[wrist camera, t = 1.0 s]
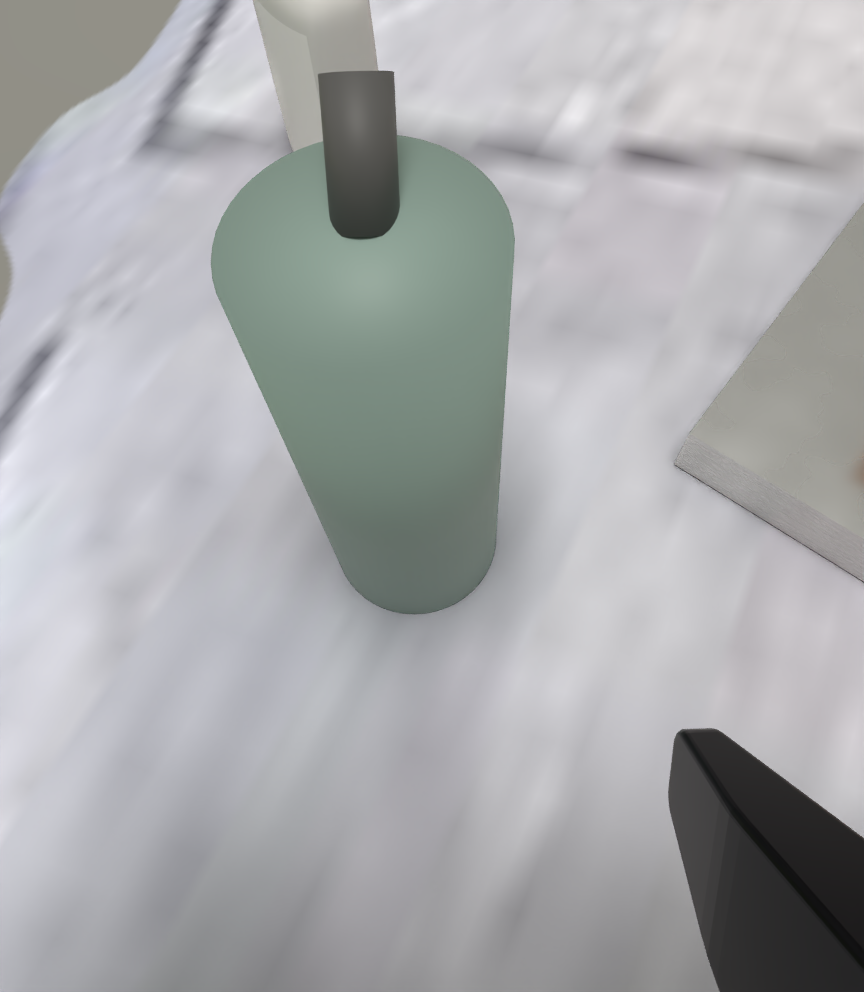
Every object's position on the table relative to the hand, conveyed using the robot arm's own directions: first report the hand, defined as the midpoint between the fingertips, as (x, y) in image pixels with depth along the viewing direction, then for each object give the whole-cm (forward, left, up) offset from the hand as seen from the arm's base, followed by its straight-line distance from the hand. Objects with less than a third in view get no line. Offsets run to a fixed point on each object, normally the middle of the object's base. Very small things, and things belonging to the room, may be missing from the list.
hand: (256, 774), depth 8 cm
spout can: (+5, -7, -14) cm, 17 cm away
